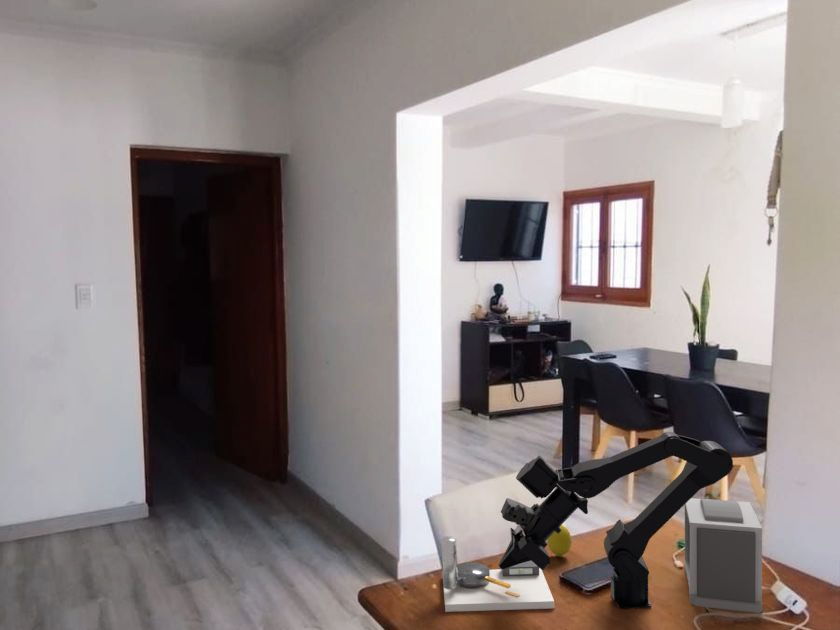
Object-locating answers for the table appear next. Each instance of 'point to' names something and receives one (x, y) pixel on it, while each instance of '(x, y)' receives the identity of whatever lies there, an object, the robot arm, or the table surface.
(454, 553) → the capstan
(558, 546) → the lemon
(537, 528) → the robot arm
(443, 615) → the table surface
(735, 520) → the alarm clock
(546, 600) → the stand
